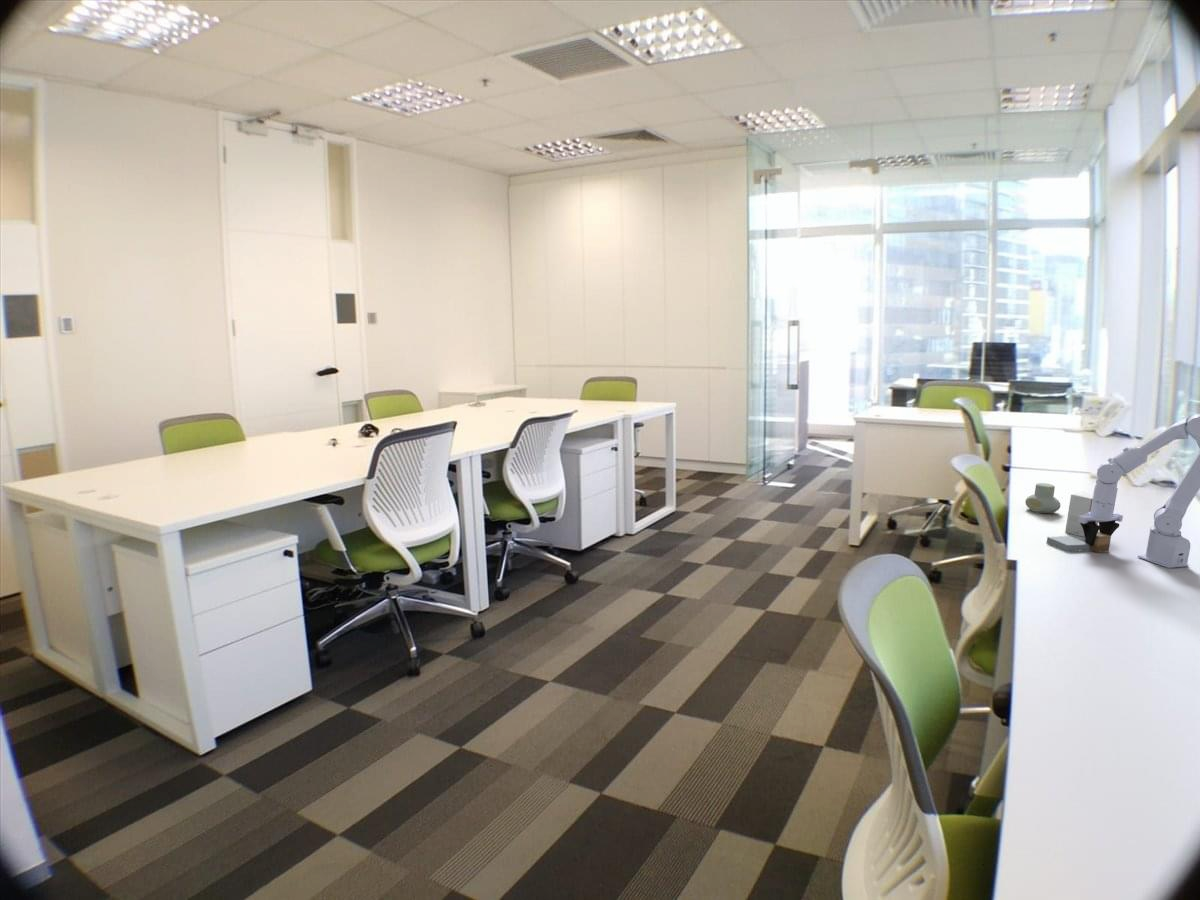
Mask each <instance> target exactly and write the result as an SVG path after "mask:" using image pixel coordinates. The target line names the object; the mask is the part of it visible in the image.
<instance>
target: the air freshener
mask: <svg viewBox="0 0 1200 900" xmlns="http://www.w3.org/2000/svg"><path fill="white" fill-rule="evenodd" d="M1054 495H1055V485H1054V484H1050V483H1045V482H1044V483H1043V482H1042V483H1041V482H1038V483H1036V484H1035V488H1034V494H1031V495H1029V496H1027V498H1025V506H1026V508H1028V509H1029V510H1031V511H1032V510H1033V511H1032V512H1034V511H1035V512H1034V513H1036V512H1039V513H1038V514H1053V513H1055V512H1057V511H1059V510H1060V508H1061V502H1060V501H1059V499H1057V498H1056V497H1055V496H1054Z"/></svg>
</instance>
